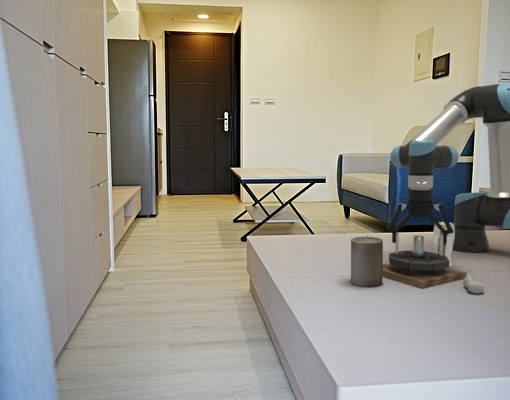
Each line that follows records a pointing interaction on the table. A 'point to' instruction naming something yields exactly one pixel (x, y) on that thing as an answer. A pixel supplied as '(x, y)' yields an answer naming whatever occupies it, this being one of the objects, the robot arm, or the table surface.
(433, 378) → the table surface
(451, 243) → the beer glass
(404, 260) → the dark grey faceted disc
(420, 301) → the table surface
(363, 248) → the pillar candle
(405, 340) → the table surface
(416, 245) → the steel post
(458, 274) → the walnut base
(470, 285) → the smooth white sculpture
